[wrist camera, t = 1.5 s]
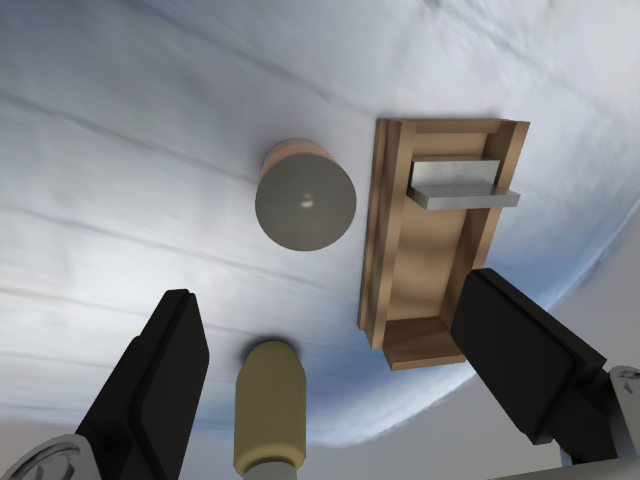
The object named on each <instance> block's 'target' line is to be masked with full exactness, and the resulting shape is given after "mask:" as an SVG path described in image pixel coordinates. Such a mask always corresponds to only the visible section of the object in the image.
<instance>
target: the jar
mask: <svg viewBox="0 0 640 480" xmlns="http://www.w3.org/2000/svg"><path fill="white" fill-rule="evenodd" d="M255 210H256V215H257V218H258V222H259V224H260V226H261V228H262V229H263V231H264V232H265V233H266V234H267V236H268V237H269V238H271V239H272V240H273V241H274V242H276V243H277V244H279V245H281V246H283V247H285V248H288V249H291V250H295V251H314V250H318V249H321V248H324V247H327V246H329V245H331V244H332V243H334V242H335V241H337V240H338V239H339V238H340V237H341V236H342V235H343V234H344V233H345V232H346V231H347V229H348V228H349V226H350V224H351V223H352V220H353V218H354V215H355V211H356V193H355V189H354V186H353V184H352V181H351V179H350V178H349V176H348V175H347V174H346V172H345V171H344V170H343V169H342V168H341V167H340V166H339V165H338V164H337V162H336V161H335V160H334V159H333V158H332V157H331V156H330V155H329V154H328V153H327V152H326V151H325V150H324V149H323V148H322V147H321V146H319V145H318V144H316V143H314V142H313V141H310V140H306V139H290V140H286V141H284V142H282V143H280V144H278V145H277V146H275V147H274V148H273V149H272V150H271V151H270V152H269V153H268V155H267V156H266V158H265V160H264V163H263V166H262V170H261V175H260V180H259V184H258V189H257V193H256V200H255Z"/></svg>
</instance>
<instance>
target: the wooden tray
mask: <svg viewBox="0 0 640 480" xmlns="http://www.w3.org/2000/svg"><path fill="white" fill-rule="evenodd" d="M529 125H530V122H524V121H513V120H508V119H377V127H376V137H375V148H374V158H373V169H372V179H371V190H370V200H369V211H368V221H367V232H366V242H365V253H364V263H363V274H362V284H361V295H360V305H359V316H358V327H359V330H365V333H366V336H367V338H368V341H369V343H370V346H371V349H380V348H382V350H383V352H384V355H385V357H386V359H387V362H388V364H389V366H390V369H391V371H396V370H404V369H412V368H421V367H429V366H437V365H446V364H454V363H462V362H465V361H466V357H465V356H464V354H463V353H462V352H461V350H460V349H459V348H458V346H457V345H456V343H455V342H454V341H453V339H452V337H451V334H450V328H451V325H452V321H453V318H454V315H455V311H456V308H457V305H458V301H459V298H460V294H461V291H462V288H463V284H464V281H465V278H466V275H467V274H469V273H470V271H471V270H473V269H482V268H483V266H484V263H485V259H486V256H487V253H488V250H489V247H490V244H491V241H492V238H493V235H494V232H495V229H496V226H497V223H498V220H499V217H500V214H501V211H502V208H503V207H496V208H473V209H450V210H427V211H426V210H425V209H424V208H422V207H421V206H420V205H418V204H417V203H416V202H414V201H413V200H412V199H410V198H409V197H408V196H406V191H407V184H408V178H409V171H410V165H411V159H412V156H461V155H482V156H486V157H489V158H493V159H496V160H500V162H499V166H498V169H497V172H496V176H495V179H494V182H493V184H495V185H498V186H500V187H503V188H505V189H509V186H510V183H511V180H512V177H513V174H514V171H515V168H516V165H517V162H518V159H519V156H520V153H521V150H522V147H523V144H524V141H525V137H526V134H527V131H528V128H529Z"/></svg>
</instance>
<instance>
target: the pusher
mask: <svg viewBox="0 0 640 480" xmlns="http://www.w3.org/2000/svg"><path fill="white" fill-rule="evenodd" d="M499 162H500V160H496V159H493V158H489V157H486V156H482V155H461V156H412V159H411V165H410V171H409V178H408V184H407V191H406V196H408V197H409V198H410V199H412V200H413V201H414V202H416V203H417V204H418V205H420V206H421V207H422V208H424V209H425V210H426V211H427V210H450V209H473V208H496V207H516V206H517V203H518V201H519V198H520V195H521V194H518V193H516V192H513V191H510V190H508V189H505V188H503V187H500V186H498V185H495V184H493V182H494V179H495V176H496V172H497V169H498V166H499Z"/></svg>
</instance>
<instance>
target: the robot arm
mask: <svg viewBox="0 0 640 480" xmlns="http://www.w3.org/2000/svg"><path fill="white" fill-rule="evenodd" d="M450 334H451V337H452V339H453V341H454V342H455V343H456V345H457V346H458V348H459V349H460V350H461V352H462V353H463V354H464V356H465V357H466V359H467V360H468V361H469V363H470V364H471V365H472V367H473V368H474V369H475V371H476V372H477V374H478V375H479V376H480V378H481V379H482V380H483V382H484V383H485V385H486V386H487V387H488V388H489V390H490V391H491V393H492V394H493V395H494V397H495V398H496V400H497V401H498V402H499V404H500V405H501V406H502V408H503V409H504V410H505V412H506V413H507V414H508V416H509V417H510V419H511V420H512V421H513V423H514V424H515V426H516V427H517V428H518V429H519V430H520V431H521V432H522V433H524V434H526V435H527V437H528V438H529V439H530V441H531V442H532V443H533V445H540V444H546V443H551V442H552V440H553V439H555V440H556V442H557V443H558V444H559V445H560V454H561V462H562V467H560V468H555V469H548V470H542V471H537V472H530V473H524V474H518V475H512V476H506V477H500V478H494V479H488V480H640V369H637V368H633V367H629V366H616V367H612V369H611V370H610V371H609V373H607V372H606V371H605V370H604V369H602V367H603V365H604V364H605V363H606V361H607V359H606V358H605V357H603V356H602V355H601V354H599V353H598V352H597V351H596V350H594V349H593V348H592V347H591V346H589V345H588V344H587V343H586V342H584V341H583V340H582V339H580V338H579V337H578V336H576V335H575V334H574V333H573V332H571V331H570V330H569V329H568V328H566V327H565V326H564V325H563V324H561V323H560V322H559V321H558V320H556V319H555V318H554V317H552V316H551V315H550V314H549V313H547V312H546V311H545V310H544V309H542V308H541V307H540V306H538V305H537V304H536V303H535V302H533V301H532V300H531V299H530V298H528V297H527V296H526V295H524V294H523V293H522V292H521V291H519V290H518V289H517V288H516V287H514V286H513V285H512V284H510V283H509V282H508V281H507V280H505V279H504V278H503V277H502V276H500V275H499V274H498V273H496V272H495V271H494V270H492V269H491V268H482V269H473V270H471V271H470V273H469V274H467V275H466V278H465V281H464V284H463V288H462V291H461V294H460V298H459V301H458V305H457V308H456V311H455V315H454V318H453V321H452V325H451V328H450ZM208 365H209V350H208V346H207V341H206V337H205V333H204V329H203V325H202V320H201V316H200V312H199V308H198V304H197V299H196V296H195V294H194V293H189V291H188V289H176V290H167V291H166V292H165V294H164V295H163V297H162V299H161V300H160V302H159V304H158V305H157V307H156V309H155V310H154V312H153V314H152V315H151V317H150V319H149V321H148V322H147V324H146V326H145V327H144V329H143V331H142V332H141V334H140V336H136V337H135V338H134V339H133V340H132V341H131V342H130V344H129V345H128V347H127V349H126V350H125V352H124V354H123V355H122V357H121V359H120V360H119V362H118V363H117V365H116V367H115V368H114V370H113V372H112V373H111V375H110V376H109V378H108V380H107V381H106V383H105V385H104V386H103V388H102V389H101V391H100V393H99V394H98V396H97V398H96V399H95V401H94V403H93V404H92V406H91V407H90V409H89V411H88V412H87V414H86V416H85V417H84V419H83V420H82V422H81V424H80V425H79V427H78V429H77V430H76V432H75V434H67V435H62V436H59V437H56V438H52V439H50V440H48V441H46V442H44V443H42V444H40V445H38V446H37V447H35V448H34V449H33V450H31V451H29V452H28V453H27V454H25V455H24V456H23V457H21V458H20V459H19V460H18V461H17V462H16V463H15V464H14V465H13V466H11V467H10V468H9V469H8V470H7V471H6V472H5V474H4V475H3V476H2V477H1V479H0V480H178V478H179V474H180V471H181V467H182V463H183V459H184V456H185V452H186V448H187V444H188V440H189V437H190V433H191V429H192V425H193V422H194V418H195V414H196V410H197V407H198V403H199V399H200V395H201V391H202V388H203V384H204V380H205V376H206V373H207V369H208Z"/></svg>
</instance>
